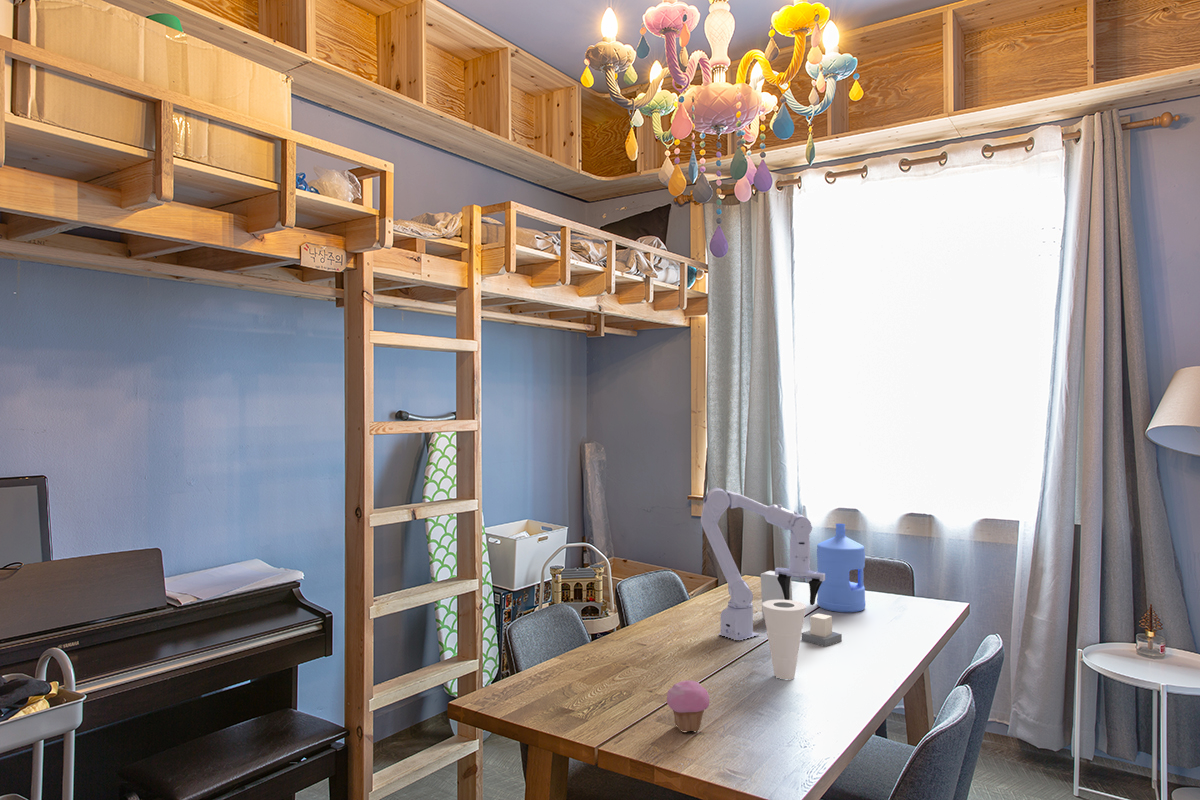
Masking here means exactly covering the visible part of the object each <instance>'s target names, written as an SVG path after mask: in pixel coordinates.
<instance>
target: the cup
mask: <svg viewBox="0 0 1200 800" xmlns="http://www.w3.org/2000/svg"><path fill="white" fill-rule="evenodd" d="M762 606H763V611H764V617H765V619H764V622H765V627H766V632H767V639H768V646H769V649H770V650H769V651H770V658H771V665H772V668H773V674H774V675H775V676H776V677H777V678H781V679H793V678H794V679H795V677H796V669H797V663H798V657H799V656H798V655H799V652H800V645H801V641H802V633H803V631H802V630H803V629H804V620H805V615H806V607H807V606H806V604H805V603H803V602H801V601H797V600H793V599H792V600H768V601H765V602H763V603H762V602H761V607H762ZM775 676H774V677H775ZM777 678H776V679H777ZM794 679H793V680H794Z"/></svg>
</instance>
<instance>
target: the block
mask: <svg viewBox="0 0 1200 800" xmlns="http://www.w3.org/2000/svg"><path fill="white" fill-rule="evenodd" d="M809 617H810V620H809V621H810V622H809V625H810V626H809V627H810V629H809V631H810V634H814V635H818V636H823V637H826V636H828V635H830V634H832V632H833V615H829V614H823V613H816V614H813V615H811V616H809Z"/></svg>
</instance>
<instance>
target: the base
mask: <svg viewBox="0 0 1200 800" xmlns="http://www.w3.org/2000/svg"><path fill="white" fill-rule="evenodd" d="M842 635H843V634H842V633H839V632H835V631H832V634H830V635H828V636H826V637H823V636H818V635H814V634H810V630H807V631H804V632H803V631H802V634H801V641H804V640H805V642H807V641H808V643H811V642H812V644H814V643H815V645H818V644H819V645H818V646H821V645H823V646H822V647H828V646H831V645H833V643H834V644H837V643H840V642H842V641H843V639H842V638H843V637H842ZM839 641H840V642H839ZM836 642H837V643H836ZM830 644H831V645H830ZM827 645H828V646H827Z"/></svg>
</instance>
